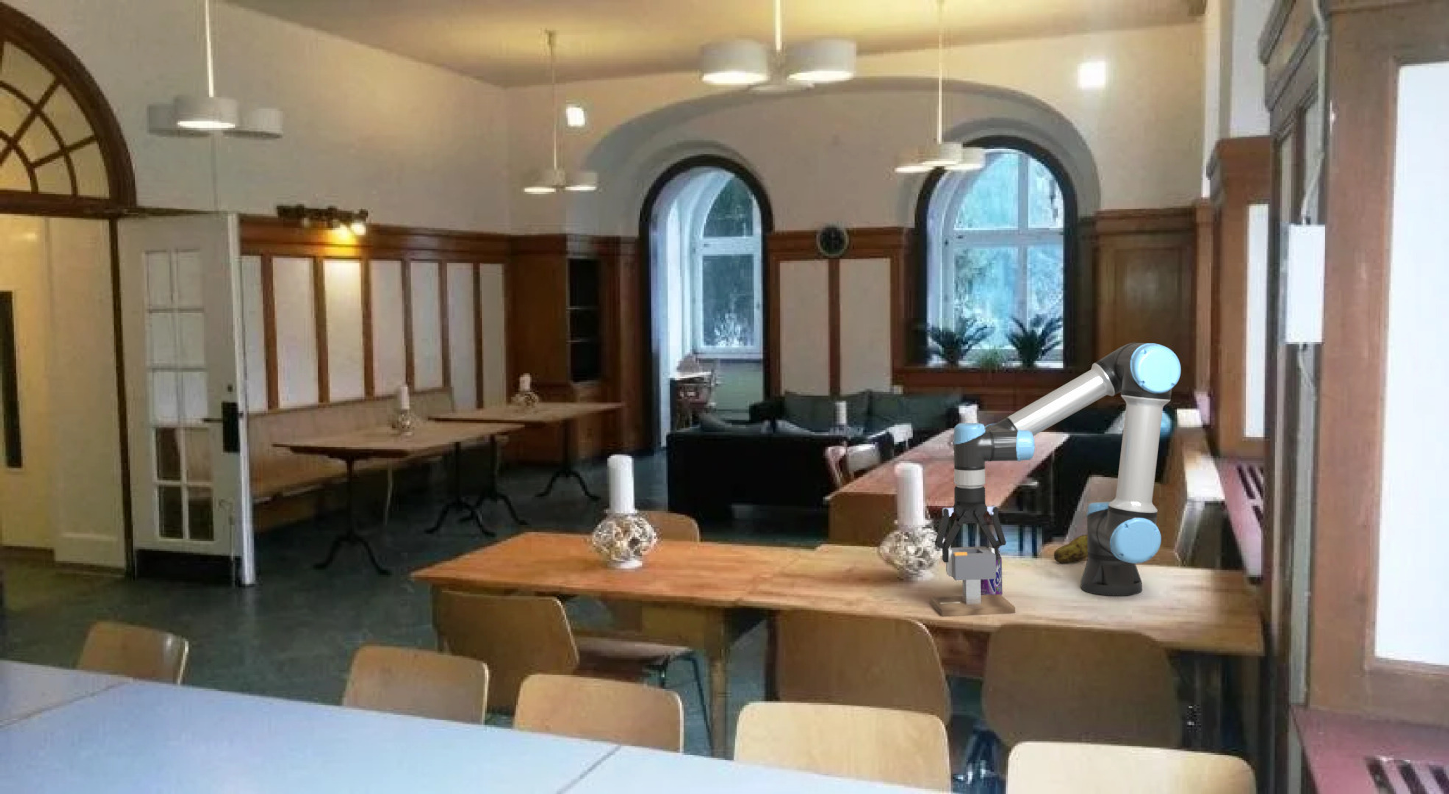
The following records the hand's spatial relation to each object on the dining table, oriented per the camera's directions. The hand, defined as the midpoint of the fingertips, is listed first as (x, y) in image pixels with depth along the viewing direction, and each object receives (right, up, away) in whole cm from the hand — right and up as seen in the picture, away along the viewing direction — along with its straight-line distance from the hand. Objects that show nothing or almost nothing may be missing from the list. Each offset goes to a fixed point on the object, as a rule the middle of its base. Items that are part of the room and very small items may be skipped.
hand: (970, 574), depth 297 cm
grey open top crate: (0, 0, 0) cm, 0 cm away
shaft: (0, -7, +1) cm, 7 cm away
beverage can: (+7, -8, +11) cm, 15 cm away
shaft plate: (0, -9, +1) cm, 9 cm away
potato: (+40, -4, +47) cm, 62 cm away
